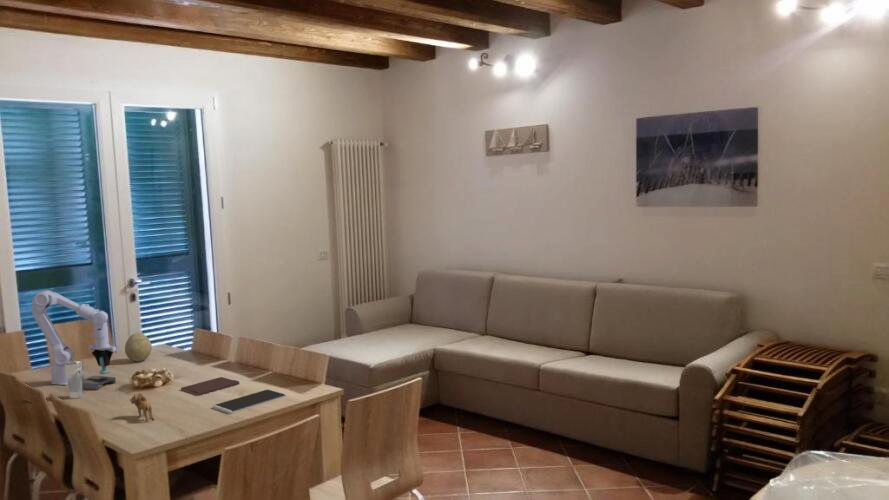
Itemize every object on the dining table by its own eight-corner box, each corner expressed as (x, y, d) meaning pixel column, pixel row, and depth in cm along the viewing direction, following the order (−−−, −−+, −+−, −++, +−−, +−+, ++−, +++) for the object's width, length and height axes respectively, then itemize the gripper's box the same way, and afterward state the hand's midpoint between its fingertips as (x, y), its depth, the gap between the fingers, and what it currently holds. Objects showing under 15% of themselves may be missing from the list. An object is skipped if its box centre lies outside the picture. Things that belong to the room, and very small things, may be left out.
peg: (97, 373, 317) (96, 358, 316) (104, 371, 320) (103, 356, 320) (104, 374, 315) (103, 358, 315) (111, 371, 319) (109, 356, 318)
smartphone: (287, 397, 281) (287, 393, 281) (230, 415, 261) (229, 411, 260) (268, 392, 290) (268, 388, 289) (211, 409, 269) (211, 405, 269)
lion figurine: (129, 416, 263) (127, 394, 262) (142, 412, 267) (141, 390, 266) (148, 423, 253) (146, 400, 252) (161, 419, 257) (159, 396, 257)
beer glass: (67, 400, 287) (63, 365, 285) (67, 396, 293) (64, 362, 291) (85, 397, 290) (82, 363, 288) (85, 393, 296) (82, 359, 294)
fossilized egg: (131, 358, 356) (128, 331, 354) (155, 357, 357) (153, 329, 356) (122, 365, 343) (119, 336, 342) (148, 363, 345) (145, 334, 343)
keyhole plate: (74, 388, 304) (73, 382, 304) (94, 381, 315) (93, 375, 314) (96, 390, 300) (96, 384, 300) (115, 383, 310) (115, 377, 310)
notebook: (181, 391, 296) (180, 386, 295) (221, 380, 311) (220, 375, 311) (199, 397, 286) (198, 392, 286) (239, 385, 301) (239, 381, 301)
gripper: (120, 336, 318) (122, 364, 319) (96, 334, 322) (98, 362, 324) (108, 339, 311) (110, 368, 312) (84, 338, 316) (86, 366, 317)
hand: (103, 365), depth 318 cm, fingers closed on peg, 3 cm apart
